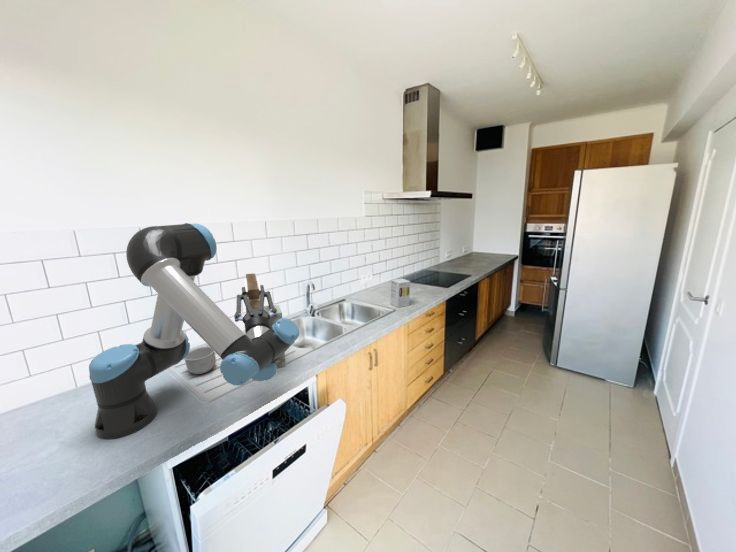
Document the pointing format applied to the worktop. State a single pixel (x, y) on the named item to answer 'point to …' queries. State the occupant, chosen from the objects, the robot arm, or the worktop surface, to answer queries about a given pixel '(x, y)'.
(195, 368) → the teacup
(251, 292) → the rail
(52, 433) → the worktop surface
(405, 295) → the supplement box
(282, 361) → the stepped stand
